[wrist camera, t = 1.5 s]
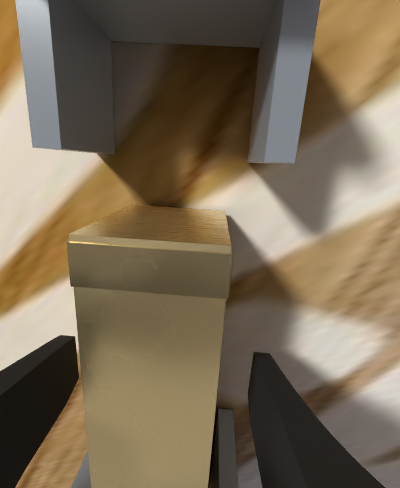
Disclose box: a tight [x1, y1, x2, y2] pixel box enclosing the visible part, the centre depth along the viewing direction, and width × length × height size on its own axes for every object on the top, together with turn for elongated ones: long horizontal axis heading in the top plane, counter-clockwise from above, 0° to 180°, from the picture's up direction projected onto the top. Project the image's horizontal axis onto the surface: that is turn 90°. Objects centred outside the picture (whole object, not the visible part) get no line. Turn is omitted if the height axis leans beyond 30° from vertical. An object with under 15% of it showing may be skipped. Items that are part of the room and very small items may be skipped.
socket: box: [15, 0, 320, 164], centre depth 7 cm, size 5×7×6 cm
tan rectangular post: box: [67, 205, 233, 488], centre depth 11 cm, size 17×4×5 cm, turn 176°
